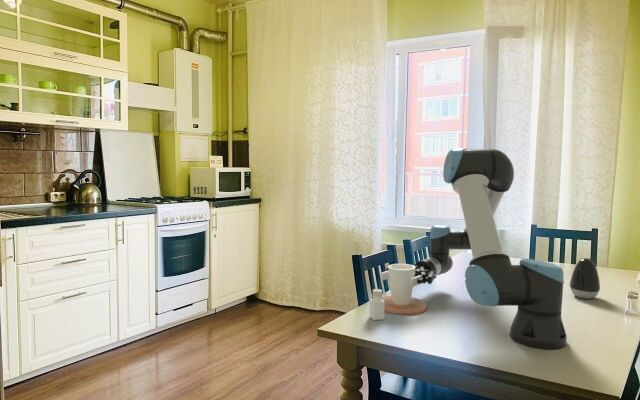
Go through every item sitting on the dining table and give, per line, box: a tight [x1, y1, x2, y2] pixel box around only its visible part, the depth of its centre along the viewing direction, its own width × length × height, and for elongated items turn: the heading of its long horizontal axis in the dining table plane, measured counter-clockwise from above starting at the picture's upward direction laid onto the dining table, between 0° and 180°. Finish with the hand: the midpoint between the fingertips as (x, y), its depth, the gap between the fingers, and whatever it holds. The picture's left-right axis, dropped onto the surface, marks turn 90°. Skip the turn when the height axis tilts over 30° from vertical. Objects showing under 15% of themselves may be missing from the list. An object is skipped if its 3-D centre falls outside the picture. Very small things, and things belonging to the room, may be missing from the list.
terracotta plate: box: [382, 295, 428, 316], centre depth 166 cm, size 18×18×1 cm
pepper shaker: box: [369, 288, 385, 321], centre depth 153 cm, size 4×4×10 cm
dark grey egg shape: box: [569, 258, 601, 300], centre depth 180 cm, size 10×10×15 cm
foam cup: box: [387, 263, 415, 305], centre depth 166 cm, size 10×9×13 cm
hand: (396, 279), depth 163 cm, fingers open, 11 cm apart
